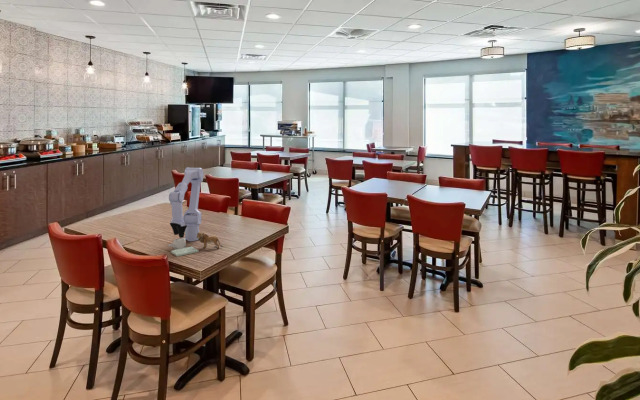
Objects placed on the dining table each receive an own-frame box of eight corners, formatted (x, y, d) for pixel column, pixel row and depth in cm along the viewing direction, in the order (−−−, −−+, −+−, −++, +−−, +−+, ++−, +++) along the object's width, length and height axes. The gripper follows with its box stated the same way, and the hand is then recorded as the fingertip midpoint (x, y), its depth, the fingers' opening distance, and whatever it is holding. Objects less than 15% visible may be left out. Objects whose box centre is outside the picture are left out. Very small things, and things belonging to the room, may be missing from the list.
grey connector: (168, 249, 226) (167, 240, 225) (184, 246, 232) (184, 237, 231) (170, 250, 224) (169, 242, 223) (186, 247, 230) (186, 238, 229)
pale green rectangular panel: (170, 252, 220) (170, 250, 220) (191, 248, 228) (191, 246, 228) (177, 256, 214) (177, 254, 214) (198, 251, 221) (198, 250, 221)
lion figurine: (196, 248, 227) (195, 233, 225) (198, 246, 232) (198, 231, 230) (222, 248, 227) (221, 233, 225) (224, 246, 232) (223, 231, 231)
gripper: (165, 211, 227) (167, 234, 230) (175, 216, 217) (176, 240, 219) (177, 209, 232) (179, 232, 235) (187, 214, 221) (189, 237, 224)
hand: (178, 236), depth 227 cm, fingers open, 7 cm apart
